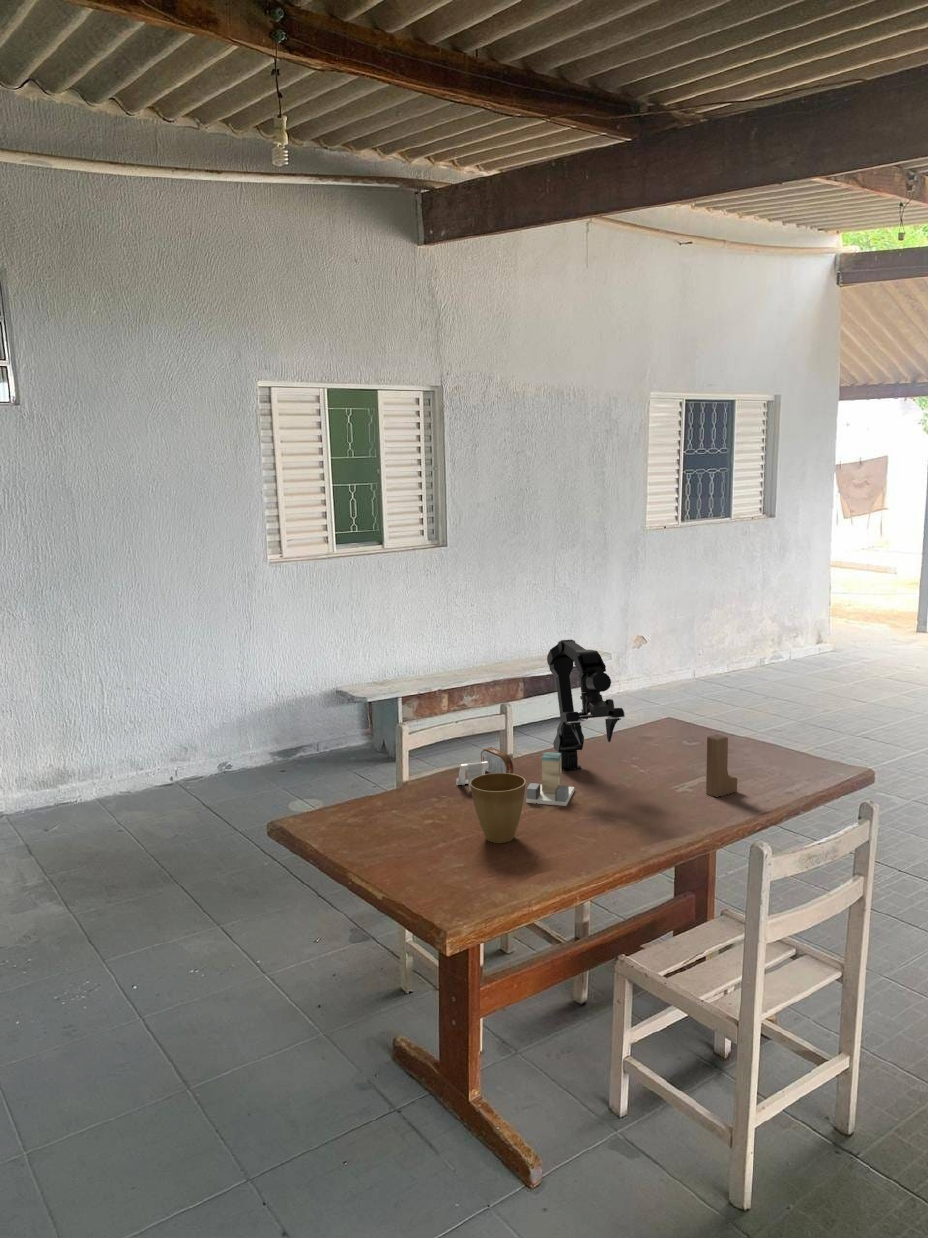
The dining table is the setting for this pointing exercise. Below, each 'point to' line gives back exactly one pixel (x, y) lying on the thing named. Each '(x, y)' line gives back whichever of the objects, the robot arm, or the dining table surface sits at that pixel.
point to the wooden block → (718, 767)
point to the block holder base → (549, 795)
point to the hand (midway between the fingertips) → (595, 743)
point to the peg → (551, 771)
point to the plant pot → (498, 804)
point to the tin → (497, 761)
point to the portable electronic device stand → (471, 772)
